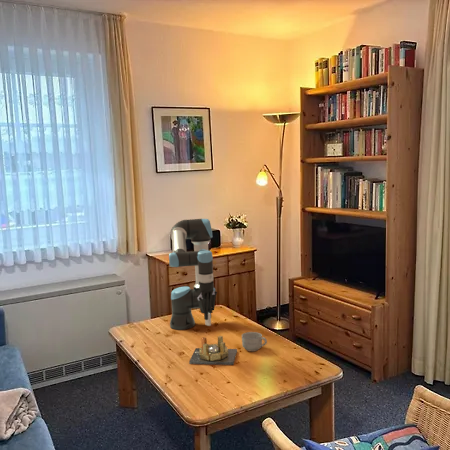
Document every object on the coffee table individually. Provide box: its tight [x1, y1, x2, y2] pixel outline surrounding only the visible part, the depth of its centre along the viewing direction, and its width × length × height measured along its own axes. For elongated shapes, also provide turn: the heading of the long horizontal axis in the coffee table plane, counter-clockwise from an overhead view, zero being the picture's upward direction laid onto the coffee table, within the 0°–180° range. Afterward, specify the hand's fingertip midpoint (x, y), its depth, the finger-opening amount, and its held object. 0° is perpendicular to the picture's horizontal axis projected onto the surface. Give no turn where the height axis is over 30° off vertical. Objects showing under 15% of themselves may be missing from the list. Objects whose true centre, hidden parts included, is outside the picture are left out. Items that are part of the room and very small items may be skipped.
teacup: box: [241, 331, 268, 352], centre depth 251 cm, size 14×11×8 cm
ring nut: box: [198, 335, 229, 361], centre depth 243 cm, size 14×14×8 cm
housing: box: [188, 346, 238, 366], centre depth 244 cm, size 16×22×6 cm
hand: (208, 324), depth 248 cm, fingers closed
